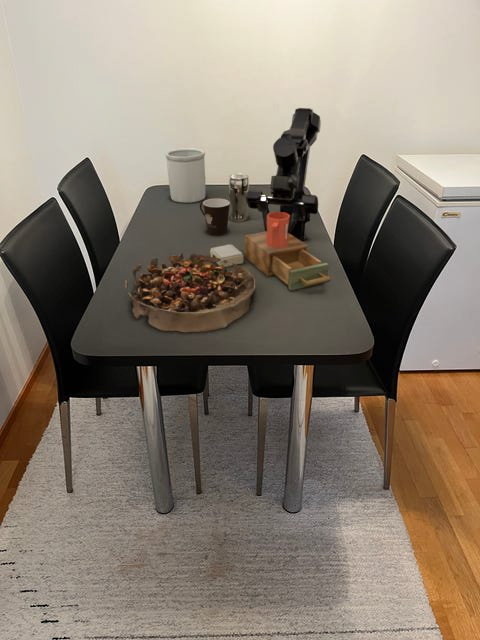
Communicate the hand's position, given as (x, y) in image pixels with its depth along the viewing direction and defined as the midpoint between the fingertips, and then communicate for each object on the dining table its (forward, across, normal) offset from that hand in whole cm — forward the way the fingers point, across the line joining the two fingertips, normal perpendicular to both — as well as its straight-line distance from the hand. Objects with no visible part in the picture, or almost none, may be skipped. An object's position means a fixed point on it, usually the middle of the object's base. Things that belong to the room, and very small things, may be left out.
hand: (276, 231), depth 131 cm
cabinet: (+2, -2, +17) cm, 17 cm away
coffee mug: (-11, -26, +31) cm, 42 cm away
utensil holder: (-33, -47, +52) cm, 78 cm away
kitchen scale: (+4, -16, +15) cm, 22 cm away
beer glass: (-20, -22, +40) cm, 50 cm away
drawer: (+9, +7, +9) cm, 14 cm away
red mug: (+3, 0, +3) cm, 4 cm away
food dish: (+20, -19, -1) cm, 28 cm away
